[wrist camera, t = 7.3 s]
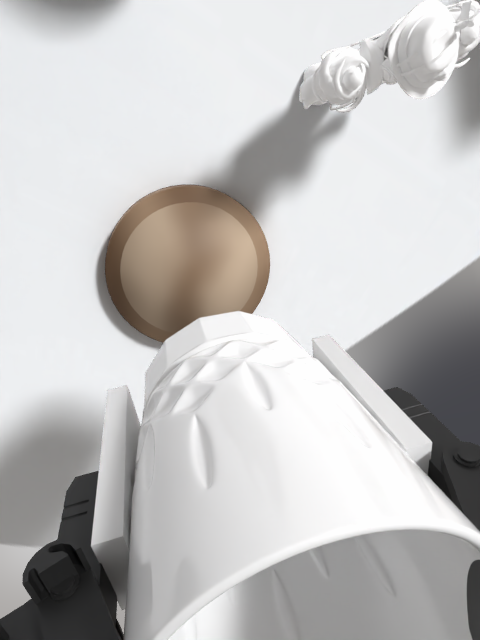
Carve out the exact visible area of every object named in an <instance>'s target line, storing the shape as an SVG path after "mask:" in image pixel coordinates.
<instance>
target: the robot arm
mask: <svg viewBox="0 0 480 640" xmlns="http://www.w3.org/2000/svg"><path fill="white" fill-rule="evenodd" d="M312 346H313V357H314V358H316V359H318V360H319V361H320V362H321V363H322V364H323V365H324V366H325V367H326V369H327V370H328V371H329V372H330V373H331V374H332V375H333V376H334V377H335V378H337V379H338V380H339V381H340V382H341V383H342V384H343V385H344V386H345V387H346V388H347V389H348V390H349V391H350V392H351V394H352V395H353V396H354V397H355V398H356V399H357V400H358V401H359V402H360V403H361V404H362V405H363V406H364V407H365V408H366V410H367V411H368V412H369V413H370V414H371V415H372V416H373V417H374V418H375V419H376V420H377V421H378V423H379V424H380V425H381V426H382V427H383V428H384V429H385V430H386V431H387V432H388V433H389V434H390V435H391V436H392V438H393V439H394V440H395V441H396V442H397V443H398V444H399V445H400V446H401V447H402V448H403V449H404V450H405V452H406V453H407V454H408V455H409V456H410V457H411V458H412V459H413V460H414V461H415V462H416V463H417V464H418V466H419V467H420V468H421V469H422V470H423V471H424V472H425V473H426V474H427V475H428V476H429V477H430V478H431V480H432V481H433V482H434V483H435V484H436V485H437V486H438V487H439V488H440V489H441V490H442V491H443V492H444V493H445V494H446V496H447V497H448V498H449V499H450V500H451V501H452V502H453V503H454V504H455V505H456V506H457V507H458V508H459V509H460V511H461V512H462V513H463V514H464V515H465V516H466V517H467V518H468V519H469V520H470V521H471V522H472V523H473V524H474V525H475V526H476V528H477V529H478V530H479V531H480V446H478V445H475V444H473V443H470V442H462V441H460V440H459V439H458V438H457V437H456V436H455V435H454V434H453V433H452V432H451V431H450V430H448V429H447V428H446V427H445V426H444V425H443V424H442V423H441V422H440V421H439V420H438V419H437V418H436V417H435V416H434V415H432V413H429V411H428V410H427V409H426V408H425V407H424V406H423V405H421V403H420V402H419V401H418V400H417V399H416V398H415V397H414V396H413V395H411V394H410V393H408V392H406V391H404V390H402V389H400V388H398V387H396V388H392V389H388V390H385V391H383V390H382V389H381V388H380V387H379V386H378V385H377V384H376V383H375V382H374V381H373V380H372V379H371V378H370V377H369V376H368V375H367V373H366V372H364V370H363V369H362V368H361V367H360V366H359V365H358V364H357V363H356V362H355V361H354V360H353V359H352V358H351V357H350V356H349V355H348V354H347V353H346V352H345V351H344V350H343V348H342V347H341V346H340V345H339V344H338V343H337V342H336V341H335V340H334V339H333V338H332V337H331V336H330V335H325V336H321V337H317V338H313V339H312ZM140 427H141V426H140V422H139V419H138V416H137V413H136V410H135V407H134V404H133V401H132V398H131V395H130V392H129V389H128V386H127V385H125V386H121V387H117V388H113V389H109V390H107V397H106V407H105V416H104V426H103V435H102V445H101V454H100V464H99V471H96V472H92V473H89V474H85V475H82V476H78V477H75V479H74V481H73V482H72V484H71V485H70V487H69V489H68V490H67V492H66V497H65V502H64V509H63V513H62V518H61V519H62V522H61V524H60V529H59V534H58V539H57V540H56V541H54V542H51V543H49V544H47V545H45V546H44V547H43V548H42V549H40V550H39V551H38V552H37V553H36V554H35V555H34V556H33V557H32V559H31V560H30V561H29V562H28V564H27V566H26V568H25V571H24V573H23V586H24V587H25V589H26V590H27V592H28V593H29V595H30V596H31V598H32V599H30V600H29V601H28V602H26V603H25V604H24V605H22V606H21V607H19V608H17V609H16V610H14V611H13V612H11V613H10V614H8V615H6V616H5V617H3V618H1V619H0V640H124V634H123V632H122V629H121V627H120V625H119V623H118V621H117V619H116V610H117V601H118V603H119V605H120V607H121V609H122V610H124V609H125V608H126V596H127V582H128V566H129V549H130V531H131V504H132V495H133V488H134V482H135V462H136V453H137V446H138V432H139V429H140ZM467 612H468V623H469V630H470V633H471V636H472V640H480V560H475V561H473V562H472V564H471V565H470V568H469V571H468V576H467Z"/></svg>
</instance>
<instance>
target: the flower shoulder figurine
mask: <svg viewBox="0 0 480 640" xmlns="http://www.w3.org/2000/svg"><path fill="white" fill-rule="evenodd" d="M453 6H454V7H455V6H461V8H457V7H456V8H451V9H447V8H449V7H453ZM479 26H480V5H479V3H478V2H476V1H474V0H466V1H461V2H459V3H458V4H452V5H448V6H444V5H443V4H442V3H441V2H439V1H437V0H426V1H423V2H421V3H420V4H418V5H417V6H416V7H415V8H413V9H412V10H411V11H410V12H409V13H408V14H407V15H405V16H404V17H402V18H401V19H399V20H397V21H396V22H395V23H394V24H393V25H392V26H391V27H390V28H389V29H388V30H387V31H386V32H383V33H380V34H377V35H375V36H372V37H370V38H367V39H364V40H362V41H359V42H357V43H354V44H351V45H349V46H346V47H340V48H335V49H331V50H328V51H327V52H325V53H323V54H322V55H321V59H322V61H321V63H317V64H313V65H310V66H309V67H307V69H306V70H305V72H304V78H303V81H304V82H303V83H302V84H301V86H300V90H299V91H300V95H299V100H300V102H301V103H303V106H304V108H305V109H308V108H309V107H310V105H311V104H312V105H323V104H325V103H326V102H330V110H336V111H338V112H349V111H351V110H353V109H354V108H356V107H357V106H358V104H359V103H360V102H361V100H362V98H363V97H364V94H365V90H366V89H367V94H370V93H372V92H374V91H375V90H377V89H378V87H379V86H380V85H381V84H383V83H386V84H387V85H393V84H395V83H397V82H398V84H399V85H400V87H401V88H402V89H403V91H404V92H405V93H406V94H407V95H409V96H410V97H412V98H415V99H426V98H429V97H431V96H433V95H434V94H436V93H437V92H438V91H439V90H440V89H441V88H442V87H443V86H444V85H445V84H446V82H447V81H448V79H449V78H450V76H451V74H452V72H453V70H454V69H456V68H460V67H462V66H463V65H465V64H466V63H467V62H468V61H469V59H470V58H468V59H466V60H465V61H463V62H461V63H459V64H456V62H457V61H459V60H461V59H463V58H465V57H466V56H467V55H468V53H469V51H471V50H473V49H474V48H475V47H476V46H477V44H478V43H479V42H480V28H479ZM378 36H379V37H378ZM376 37H377V38H376ZM373 38H375V39H373ZM371 39H373V40H371ZM357 44H360V48H359V49H358V50H355V49H353V48H351V46H354V45H357ZM329 52H331V53H329ZM327 53H329V54H328V55H327V56H326V57H325V58H324V56H325V55H326V54H327ZM323 58H324V59H323ZM327 100H328V101H327ZM353 102H354V103H353ZM351 103H353V104H352V105H351V106H349V107H348V108H344V109H340V108H343V107H345V106H347V105H349V104H351ZM331 104H334V105H341V106H339V107H336V108H331ZM337 109H339V110H337Z"/></svg>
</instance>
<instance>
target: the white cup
mask: <svg viewBox="0 0 480 640" xmlns="http://www.w3.org/2000/svg"><path fill="white" fill-rule="evenodd" d="M475 560H480V531H479V530H478V529H477V528H476V526H475V525H474V524H473V523H472V522H471V521H470V520H469V519H468V518H467V517H466V516H465V515H464V514H463V513H462V512H461V511H460V509H459V508H458V507H457V506H456V505H455V504H454V503H453V502H452V501H451V500H450V499H449V498H448V497H447V496H446V494H445V493H444V492H443V491H442V490H441V489H440V488H439V487H438V486H437V485H436V484H435V483H434V482H433V481H432V480H431V478H430V477H429V476H428V475H427V474H426V473H425V472H424V471H423V470H422V469H421V468H420V467H419V466H418V464H417V463H416V462H415V461H414V460H413V459H412V458H411V457H410V456H409V455H408V454H407V453H406V452H405V450H404V449H403V448H402V447H401V446H400V445H399V444H398V443H397V442H396V441H395V440H394V439H393V438H392V436H391V435H390V434H389V433H388V432H387V431H386V430H385V429H384V428H383V427H382V426H381V425H380V424H379V423H378V421H377V420H376V419H375V418H374V417H373V416H372V415H371V414H370V413H369V412H368V411H367V410H366V408H365V407H364V406H363V405H362V404H361V403H360V402H359V401H358V400H357V399H356V398H355V397H354V396H353V395H352V394H351V392H350V391H349V390H348V389H347V388H346V387H345V386H344V385H343V384H342V383H341V382H340V381H339V380H338V379H337V378H335V377H334V376H333V375H332V374H331V373H330V372H329V371H328V370H327V369H326V367H325V366H324V365H323V364H322V363H321V362H320V361H319V360H318V359H316V358H314V357H312V356H310V355H309V354H308V353H307V352H306V350H305V349H304V348H303V347H302V346H301V345H300V344H299V343H298V342H297V341H296V340H295V339H294V338H293V337H292V336H291V335H290V334H289V333H288V332H287V331H285V330H284V329H283V328H282V327H281V326H280V325H279V324H278V323H277V322H276V321H275V320H272V319H269V318H265V317H261V316H257V315H253V314H249V313H245V312H242V311H234V312H228V313H223V314H217V315H212V316H206V317H200V318H198V319H196V320H195V321H193V322H192V323H190V324H189V325H187V326H186V327H184V328H183V329H181V330H180V331H178V332H177V333H175V334H174V335H172V336H171V337H169V338H168V339H166V340H165V342H164V343H163V345H162V346H161V348H160V350H159V351H158V353H157V354H156V356H155V358H154V359H153V361H152V363H151V364H150V366H149V367H148V369H147V371H146V375H145V396H144V411H143V419H142V424H141V427H140V429H139V432H138V446H137V453H136V462H135V482H134V488H133V495H132V504H131V531H130V549H129V566H128V582H127V596H126V608H125V625H124V640H472V636H471V633H470V630H469V623H468V612H467V576H468V571H469V568H470V565H471V564H472V562H473V561H475Z"/></svg>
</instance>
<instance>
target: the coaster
mask: <svg viewBox="0 0 480 640" xmlns="http://www.w3.org/2000/svg"><path fill="white" fill-rule="evenodd" d="M269 271H270V255H269V250H268V245H267V241H266V238H265V235H264V233H263V231H262V229H261V227H260V225H259V224H258V222H257V221H256V219H255V218H254V217H253V216H252V215H251V213H250V212H249V211H248V210H247V209H246V208H245V207H243V206H242V205H241V204H240V203H239V202H237V201H236V200H234V199H233V198H231V197H230V196H228V195H226V194H224V193H222V192H220V191H218V190H215V189H212V188H209V187H205V186H199V185H176V186H170V187H166V188H162V189H159V190H157V191H154V192H152V193H150V194H148V195H146V196H145V197H143V198H141V199H140V200H138V201H137V202H136V203H135V204H133V205H132V206H131V207H130V208H129V209H128V210H127V211H126V212H125V213H124V214H123V216H122V217H121V219H120V220H119V221H118V223H117V225H116V226H115V228H114V230H113V232H112V235H111V238H110V240H109V243H108V248H107V253H106V260H105V275H106V283H107V287H108V291H109V294H110V296H111V298H112V301H113V303H114V305H115V306H116V308H117V310H118V311H119V312H120V314H121V315H122V316H123V318H124V319H125V320H126V321H127V322H128V323H129V324H130V325H131V326H133V327H134V328H135V329H137V330H138V331H139V332H141V333H143V334H144V335H146V336H148V337H150V338H152V339H155V340H157V341H160V342H165V340H166V339H168V338H169V337H171V336H172V335H174V334H175V333H177V332H178V331H180V330H181V329H183V328H184V327H186V326H187V325H189V324H190V323H192V322H193V321H195V320H196V319H198V318H200V317H206V316H212V315H217V314H223V313H228V312H234V311H242V312H245V313H249V314H252V313H253V312H254V310H255V309H256V307H257V306H258V304H259V303H260V301H261V299H262V297H263V295H264V292H265V289H266V286H267V283H268V278H269Z"/></svg>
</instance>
